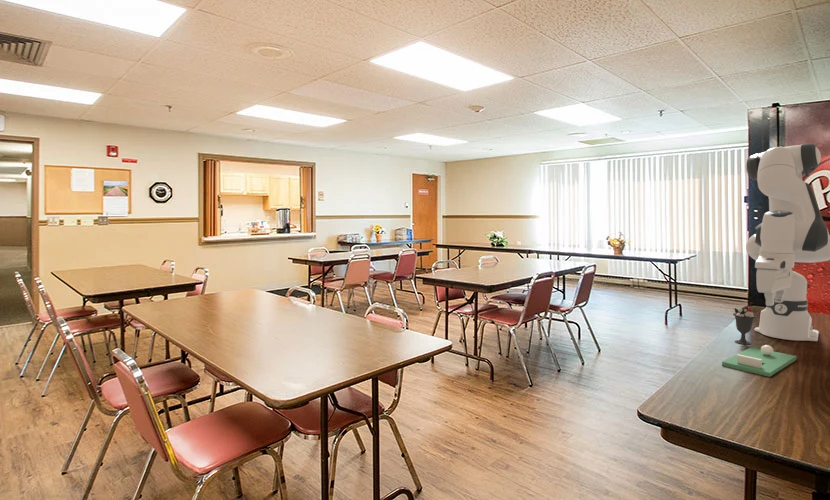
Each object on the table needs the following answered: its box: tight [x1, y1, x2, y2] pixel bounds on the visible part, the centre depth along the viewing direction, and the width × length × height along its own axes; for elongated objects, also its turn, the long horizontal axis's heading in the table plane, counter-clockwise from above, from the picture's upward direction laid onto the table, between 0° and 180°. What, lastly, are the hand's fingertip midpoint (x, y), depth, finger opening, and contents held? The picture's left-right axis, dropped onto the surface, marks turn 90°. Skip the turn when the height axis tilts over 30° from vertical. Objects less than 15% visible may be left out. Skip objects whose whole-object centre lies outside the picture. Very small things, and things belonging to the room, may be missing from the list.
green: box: [721, 346, 797, 378], centre depth 139 cm, size 24×12×4 cm, turn 125°
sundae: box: [732, 301, 757, 346], centre depth 159 cm, size 7×7×15 cm
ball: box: [760, 344, 774, 355], centre depth 142 cm, size 3×3×3 cm
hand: (774, 303), depth 144 cm, fingers open, 6 cm apart
